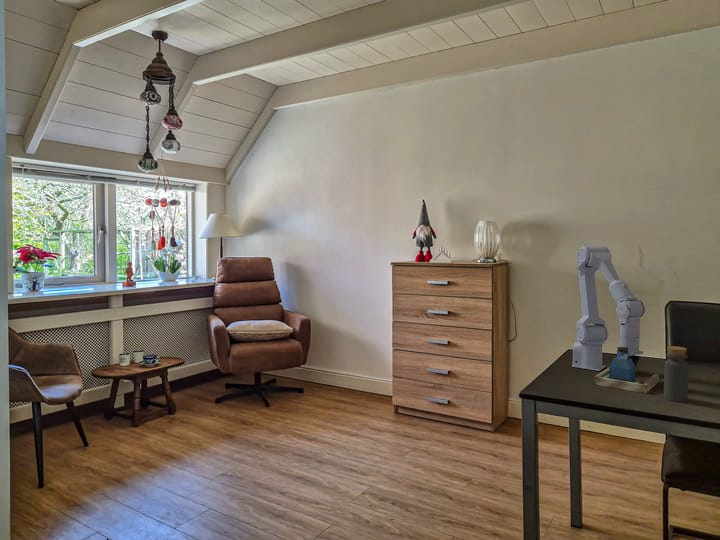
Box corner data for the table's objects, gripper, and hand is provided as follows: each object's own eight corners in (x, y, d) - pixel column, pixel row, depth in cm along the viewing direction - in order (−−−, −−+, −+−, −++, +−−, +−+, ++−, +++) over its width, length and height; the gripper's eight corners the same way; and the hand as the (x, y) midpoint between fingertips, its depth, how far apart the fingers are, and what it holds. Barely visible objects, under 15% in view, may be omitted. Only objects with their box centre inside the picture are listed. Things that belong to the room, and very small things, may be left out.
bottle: (659, 396, 146) (660, 345, 146) (677, 395, 147) (679, 345, 146) (673, 402, 140) (674, 350, 140) (692, 401, 141) (694, 349, 140)
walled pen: (593, 384, 159) (593, 376, 159) (609, 373, 171) (609, 367, 171) (646, 393, 149) (646, 385, 148) (658, 381, 161) (658, 374, 161)
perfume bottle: (630, 389, 154) (631, 350, 153) (609, 385, 157) (609, 348, 157) (634, 384, 158) (635, 347, 158) (613, 381, 162) (614, 345, 162)
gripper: (637, 341, 153) (636, 385, 154) (648, 335, 164) (647, 375, 164) (613, 338, 158) (612, 380, 158) (625, 332, 168) (624, 372, 169)
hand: (628, 378), depth 162 cm, fingers closed
